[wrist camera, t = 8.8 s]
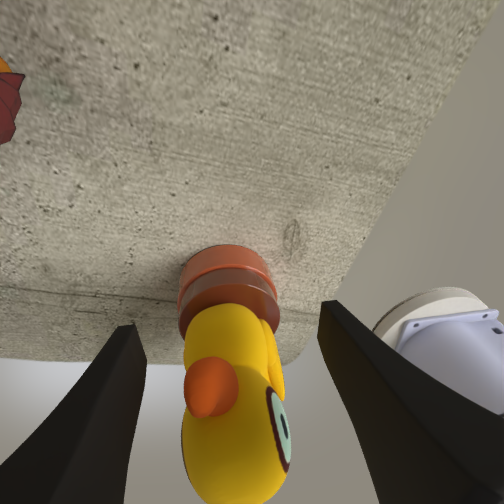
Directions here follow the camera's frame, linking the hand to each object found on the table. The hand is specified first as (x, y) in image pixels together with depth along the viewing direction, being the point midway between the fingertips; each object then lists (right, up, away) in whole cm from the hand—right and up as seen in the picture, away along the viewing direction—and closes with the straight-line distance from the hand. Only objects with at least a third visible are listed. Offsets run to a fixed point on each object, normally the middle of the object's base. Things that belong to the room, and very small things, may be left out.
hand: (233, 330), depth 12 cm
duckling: (-1, -2, +8) cm, 8 cm away
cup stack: (-1, +1, +12) cm, 12 cm away
